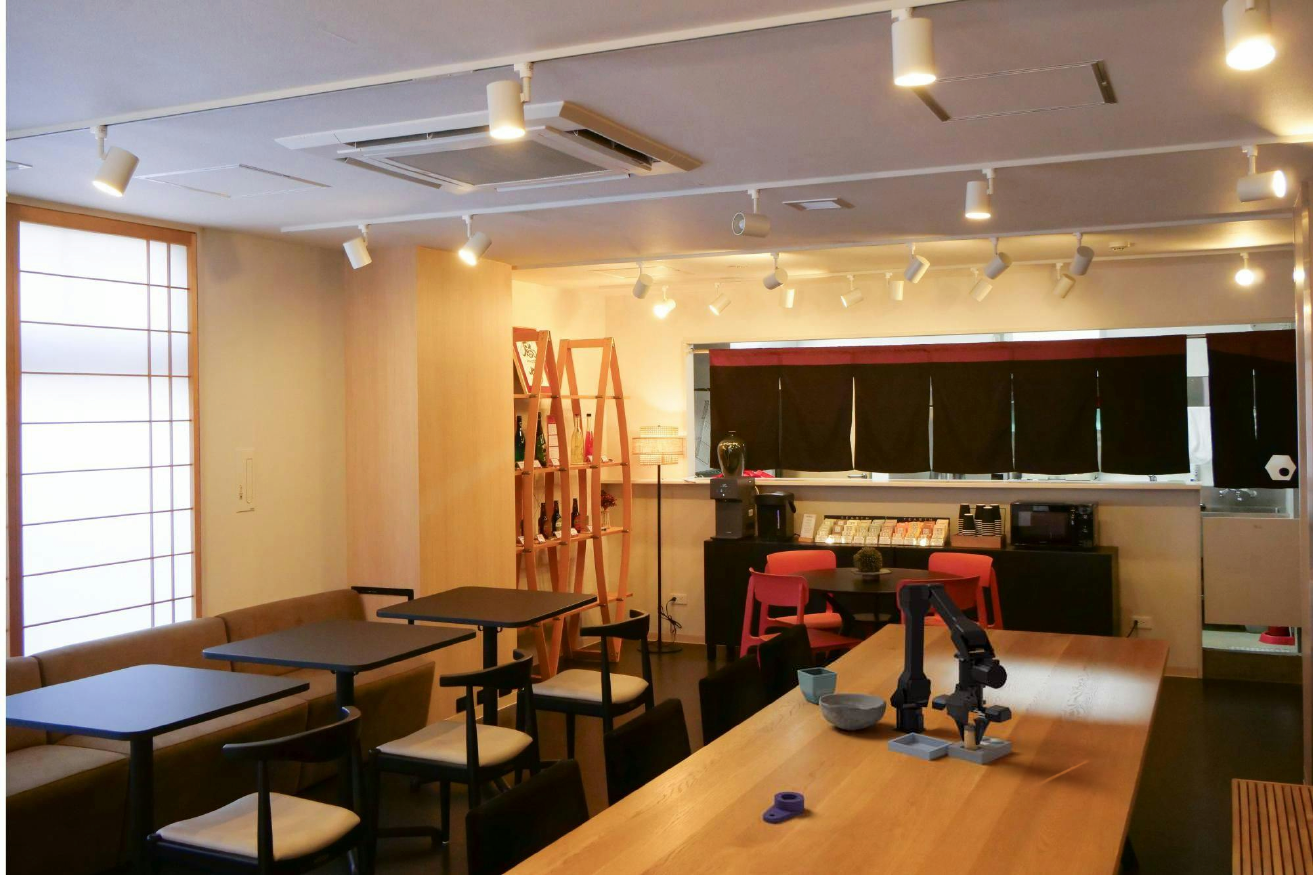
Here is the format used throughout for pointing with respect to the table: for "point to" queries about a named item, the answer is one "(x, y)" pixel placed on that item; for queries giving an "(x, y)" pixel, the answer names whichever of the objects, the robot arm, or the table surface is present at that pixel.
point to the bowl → (852, 710)
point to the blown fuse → (970, 737)
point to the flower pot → (816, 683)
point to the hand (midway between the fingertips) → (971, 743)
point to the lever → (784, 807)
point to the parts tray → (919, 746)
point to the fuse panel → (980, 750)
